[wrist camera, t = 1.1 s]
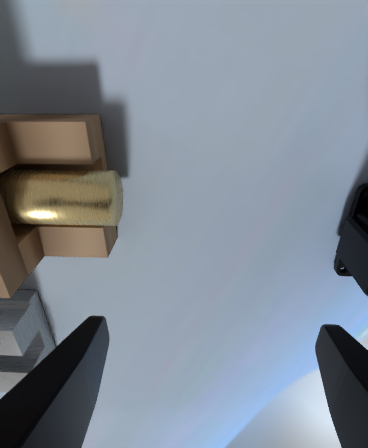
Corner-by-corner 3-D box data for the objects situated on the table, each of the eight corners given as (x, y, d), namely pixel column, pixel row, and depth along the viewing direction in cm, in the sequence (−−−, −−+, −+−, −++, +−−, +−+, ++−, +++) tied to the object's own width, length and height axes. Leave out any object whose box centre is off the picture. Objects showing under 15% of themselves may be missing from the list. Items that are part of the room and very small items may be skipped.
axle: (119, 163, 16) (103, 182, 14) (125, 210, 18) (111, 236, 15) (-50, 161, 17) (-95, 179, 14) (-31, 207, 19) (-69, 231, 16)
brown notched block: (99, 114, 16) (49, 139, 11) (117, 237, 20) (87, 300, 15) (-40, 114, 16) (-153, 139, 11) (4, 235, 20) (-65, 295, 15)
